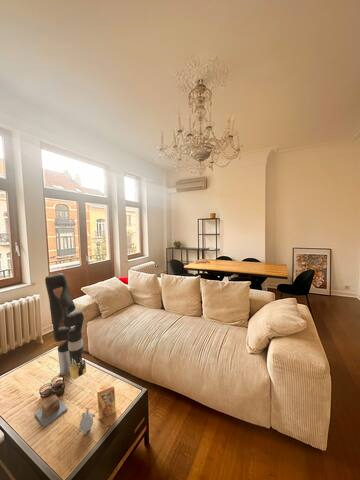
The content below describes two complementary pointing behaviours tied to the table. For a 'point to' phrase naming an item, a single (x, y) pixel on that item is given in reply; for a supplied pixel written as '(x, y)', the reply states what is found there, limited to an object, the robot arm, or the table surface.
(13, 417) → the table surface
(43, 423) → the slate baseplate
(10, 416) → the table surface
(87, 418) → the toy figure
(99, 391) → the candy box
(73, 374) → the mustard brick
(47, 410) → the walnut brick
